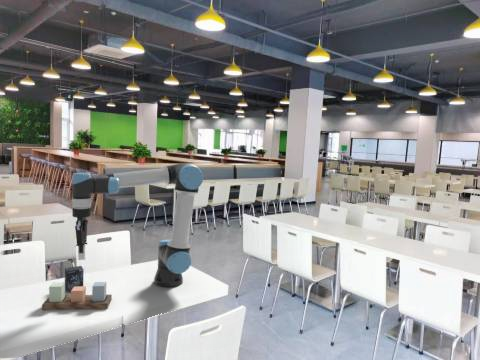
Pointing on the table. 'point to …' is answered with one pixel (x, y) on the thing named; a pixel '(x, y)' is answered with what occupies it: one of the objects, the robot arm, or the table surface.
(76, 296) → the orange block
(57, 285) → the pale green block
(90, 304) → the panel
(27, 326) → the table surface
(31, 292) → the table surface
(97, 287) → the slate button
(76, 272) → the box
